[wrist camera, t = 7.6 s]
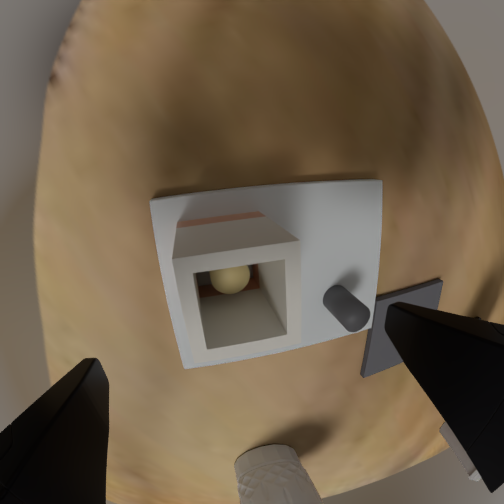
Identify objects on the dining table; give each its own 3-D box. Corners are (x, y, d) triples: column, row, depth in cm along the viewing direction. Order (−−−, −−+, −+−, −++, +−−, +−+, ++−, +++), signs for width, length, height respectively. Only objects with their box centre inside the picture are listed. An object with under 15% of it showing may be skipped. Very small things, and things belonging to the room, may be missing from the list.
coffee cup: (474, 399, 37) (517, 440, 23) (446, 434, 39) (483, 476, 25) (458, 401, 34) (506, 451, 20) (425, 440, 36) (466, 491, 22)
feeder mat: (438, 278, 22) (443, 281, 21) (422, 348, 25) (425, 351, 24) (372, 298, 21) (377, 301, 20) (360, 374, 23) (363, 378, 23)
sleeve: (258, 211, 16) (300, 240, 10) (264, 285, 17) (301, 342, 11) (177, 221, 15) (171, 259, 9) (189, 297, 16) (194, 363, 11)
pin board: (373, 179, 18) (413, 186, 14) (364, 321, 21) (393, 348, 17) (151, 198, 15) (140, 210, 11) (183, 360, 19) (186, 400, 15)
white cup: (220, 452, 23) (240, 537, 14) (296, 431, 24) (334, 510, 15) (237, 480, 26) (257, 548, 16) (301, 462, 27) (331, 526, 17)
